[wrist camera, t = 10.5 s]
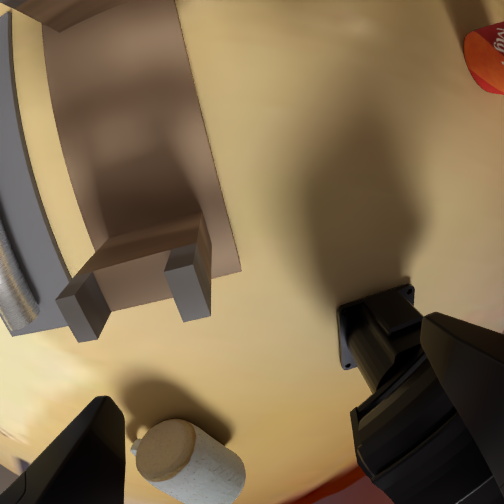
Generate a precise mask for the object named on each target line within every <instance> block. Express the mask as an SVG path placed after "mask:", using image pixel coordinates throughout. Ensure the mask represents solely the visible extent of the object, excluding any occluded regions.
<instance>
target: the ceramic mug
mask: <svg viewBox="0 0 504 504" xmlns="http://www.w3.org/2000/svg"><path fill="white" fill-rule="evenodd" d="M130 451H131V452H132V453H133V454H134V455H135V456H136V466H137V469H138V471H139V472H140V474H141V475H142V476H143V477H144V478H145V479H146V480H147V481H148V482H149V483H150V484H152V485H153V486H154V487H156V488H157V489H159V490H161V491H163V492H165V493H167V494H169V495H170V496H172V497H174V498H176V499H177V500H179V501H181V502H183V503H185V504H231V503H232V502H234V501H235V499H236V498H237V497H238V496H239V494H240V493H241V491H242V489H243V487H244V484H245V478H246V473H245V467H244V464H243V462H242V460H241V458H240V457H239V456H238V455H237V454H235V453H234V452H233V451H231V450H229V449H228V448H226V447H225V446H224V445H222V444H221V443H219V442H218V441H216V440H215V439H213V438H212V437H210V436H209V435H208V434H207V433H205V432H204V431H203V430H201V429H200V428H199V427H197V426H195V425H193V424H191V423H190V422H187V421H185V420H182V419H170V420H166V421H163V422H161V423H159V424H157V425H155V426H154V427H153V428H151V429H150V430H149V431H148V432H147V433H146V434H145V436H144V437H143V438H142V439H136V440H135V441H134V443H133V445H132V447H131V450H130Z"/></svg>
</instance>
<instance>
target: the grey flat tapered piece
mask: <svg viewBox="0 0 504 504" xmlns="http://www.w3.org/2000/svg"><path fill="white" fill-rule="evenodd" d="M0 217H1V220H2V223H3V226H4V229H5V231H6V234H7V237H8V240H9V242H10V245H11V247H12V250H13V252H14V255H15V257H16V259H17V262H18V264H19V266H20V269H21V271H22V273H23V275H24V277H25V280H26V282H27V284H28V286H29V288H30V290H31V292H32V294H33V296H34V298H35V300H36V302H37V304H38V306H39V308H40V310H41V311H40V314H39V315H38V316H37V318H36V319H35V320H34V321H32V322H31V323H30V324H28V325H27V326H25V327H24V328H22V329H19V330H16V331H11V330H10V328H9V327H8V325H7V323H6V322H5V320H4V318H3V316H2V314H1V313H0V316H1V318H2V320H3V322H4V324H5V325H6V327H7V329H8V330H9V332H10V334H11V335H12V337H13V336H18V335H24V334H29V333H35V332H40V331H45V330H50V329H55V328H60V327H65V326H68V324H67V322H66V320H65V319H64V317H63V315H62V313H61V311H60V309H59V307H58V306H57V304H56V302H55V299H56V298H57V297H58V296H59V294H60V293H61V292H62V291H63V289H64V288H65V287H66V286H67V285H68V283H69V282H70V281H71V280H72V278H71V276H70V274H69V272H68V269H67V267H66V265H65V263H64V260H63V258H62V255H61V253H60V251H59V248H58V246H57V243H56V241H55V238H54V235H53V233H52V230H51V227H50V225H49V222H48V219H47V216H46V213H45V210H44V207H43V204H42V201H41V198H40V195H39V192H38V188H37V185H36V182H35V178H34V175H33V171H32V167H31V164H30V160H29V156H28V152H27V147H26V143H25V138H24V134H23V129H22V124H21V118H20V113H19V107H18V100H17V93H16V86H15V77H14V67H13V53H12V13H11V12H7V13H5V14H4V15H3V16H1V17H0Z"/></svg>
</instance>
